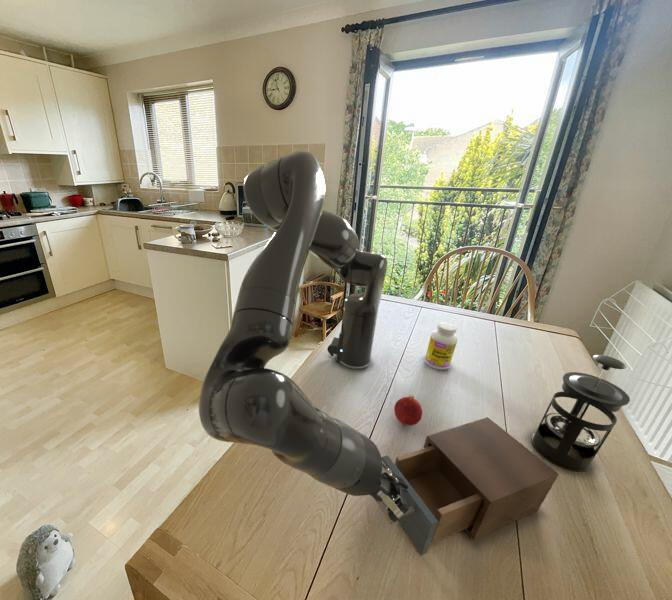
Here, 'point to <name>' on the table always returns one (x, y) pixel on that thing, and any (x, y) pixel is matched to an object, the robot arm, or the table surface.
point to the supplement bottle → (441, 346)
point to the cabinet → (495, 472)
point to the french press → (580, 417)
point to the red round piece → (408, 410)
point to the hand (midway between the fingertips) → (401, 487)
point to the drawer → (433, 498)
